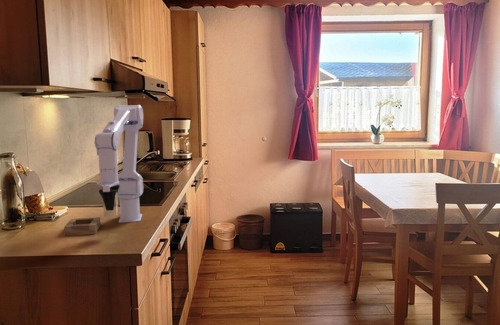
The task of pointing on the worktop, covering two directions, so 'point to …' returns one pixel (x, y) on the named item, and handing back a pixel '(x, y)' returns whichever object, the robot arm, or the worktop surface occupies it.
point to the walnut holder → (82, 226)
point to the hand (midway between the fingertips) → (110, 208)
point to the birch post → (115, 210)
